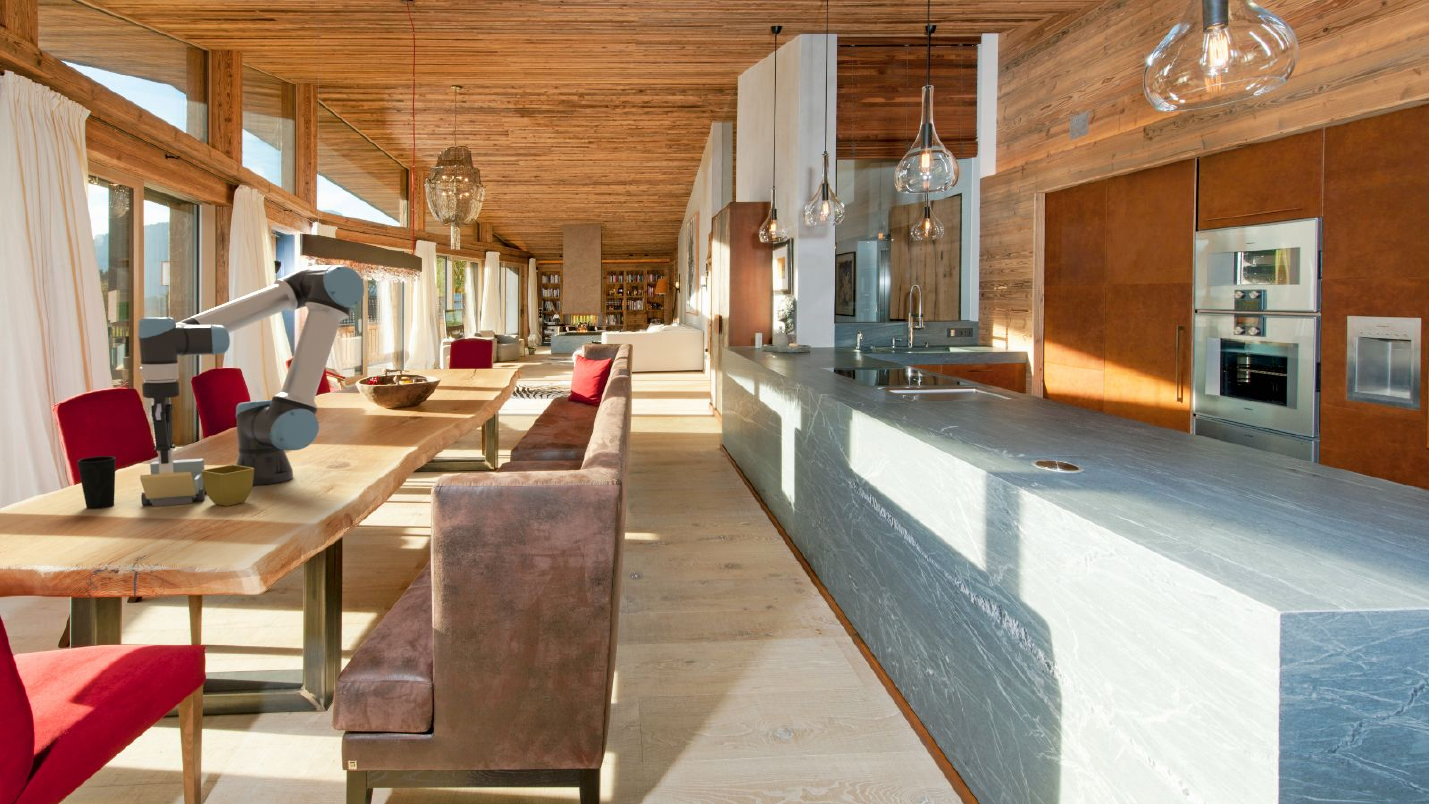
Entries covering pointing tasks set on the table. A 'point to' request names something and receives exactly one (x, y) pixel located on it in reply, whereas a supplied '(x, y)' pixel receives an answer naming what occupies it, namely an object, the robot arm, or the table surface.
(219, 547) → the table surface
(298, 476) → the table surface
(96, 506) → the cup
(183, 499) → the truck
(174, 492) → the panel
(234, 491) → the flower pot
